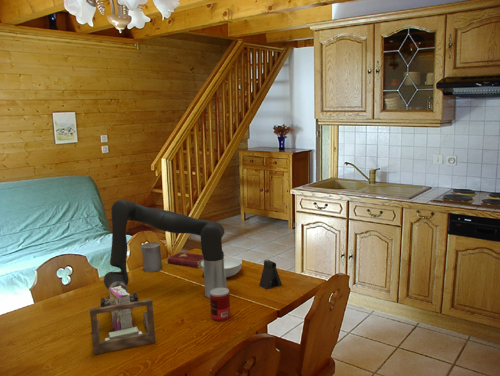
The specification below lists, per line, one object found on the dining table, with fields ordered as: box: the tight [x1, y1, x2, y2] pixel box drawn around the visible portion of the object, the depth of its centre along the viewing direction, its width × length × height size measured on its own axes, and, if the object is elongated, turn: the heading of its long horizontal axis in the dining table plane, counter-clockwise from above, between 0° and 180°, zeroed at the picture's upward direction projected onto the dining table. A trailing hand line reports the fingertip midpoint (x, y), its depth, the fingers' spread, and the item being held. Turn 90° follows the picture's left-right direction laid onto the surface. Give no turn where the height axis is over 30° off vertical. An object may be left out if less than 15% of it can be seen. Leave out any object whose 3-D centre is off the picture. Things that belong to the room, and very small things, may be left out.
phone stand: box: [258, 259, 283, 290], centre depth 210 cm, size 9×6×12 cm, turn 123°
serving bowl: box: [200, 255, 243, 278], centre depth 228 cm, size 21×21×7 cm
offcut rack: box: [89, 298, 156, 355], centre depth 166 cm, size 21×20×16 cm
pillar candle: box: [141, 241, 163, 273], centre depth 239 cm, size 10×10×15 cm
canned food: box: [209, 287, 231, 322], centre depth 179 cm, size 8×8×11 cm
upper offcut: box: [108, 326, 140, 340], centre depth 162 cm, size 10×4×2 cm, turn 114°
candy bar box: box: [108, 286, 134, 332], centre depth 169 cm, size 11×5×16 cm, turn 34°
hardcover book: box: [166, 251, 203, 269], centre depth 249 cm, size 12×21×4 cm, turn 61°
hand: (120, 308), depth 170 cm, fingers open, 8 cm apart
